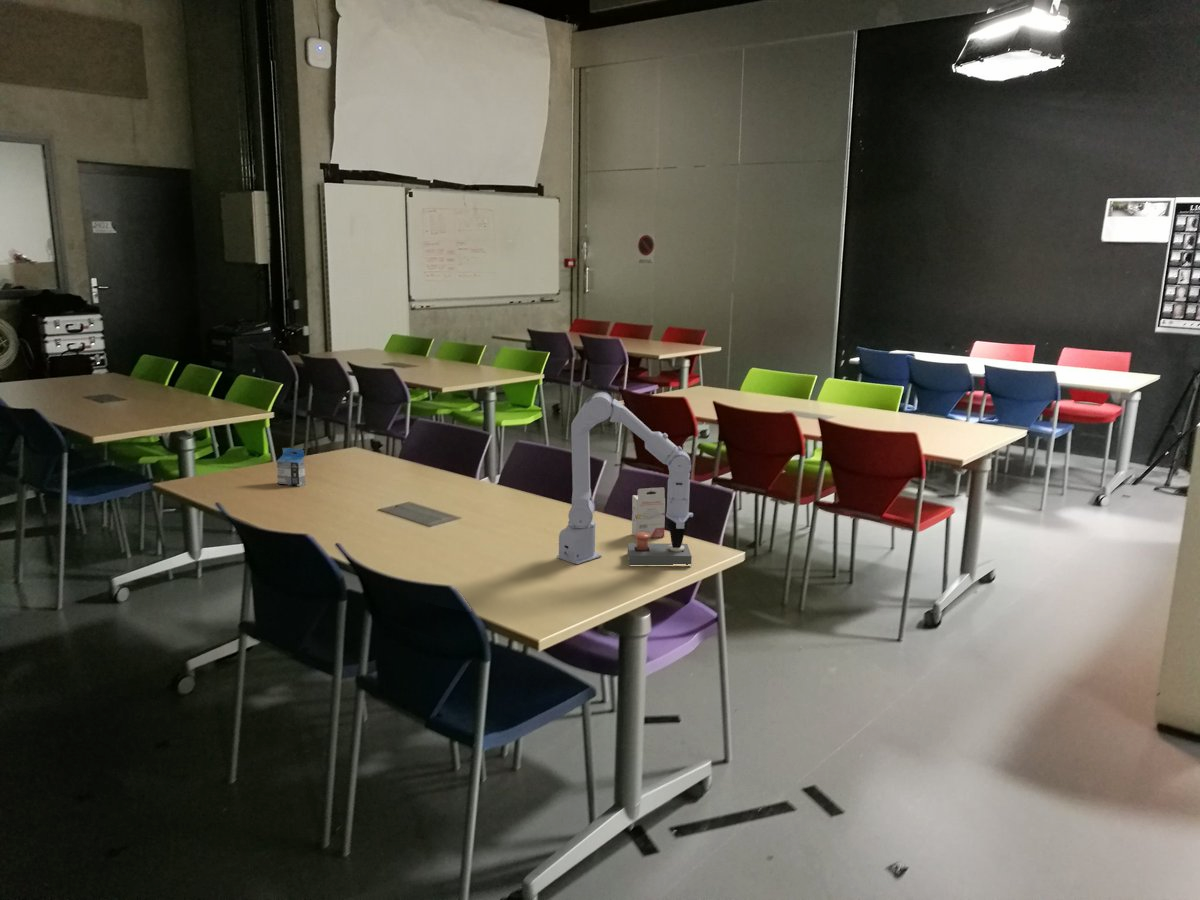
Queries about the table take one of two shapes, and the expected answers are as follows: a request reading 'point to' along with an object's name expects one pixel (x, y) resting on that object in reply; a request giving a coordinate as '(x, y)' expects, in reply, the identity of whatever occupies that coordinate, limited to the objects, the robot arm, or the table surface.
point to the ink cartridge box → (649, 512)
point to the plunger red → (642, 540)
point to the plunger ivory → (675, 548)
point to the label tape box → (291, 467)
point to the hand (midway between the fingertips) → (676, 546)
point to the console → (657, 555)
